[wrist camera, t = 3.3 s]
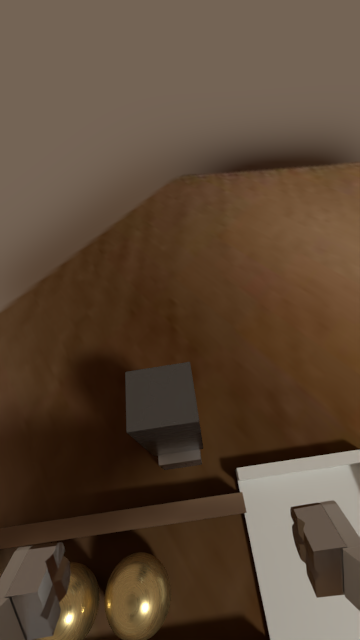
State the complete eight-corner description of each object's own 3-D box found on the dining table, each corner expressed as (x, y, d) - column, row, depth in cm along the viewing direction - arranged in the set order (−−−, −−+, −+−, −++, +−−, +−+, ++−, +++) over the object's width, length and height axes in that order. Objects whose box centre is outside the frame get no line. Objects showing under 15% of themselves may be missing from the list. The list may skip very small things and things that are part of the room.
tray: (465, 685, 16) (486, 701, 15) (284, 711, 16) (290, 729, 15) (362, 450, 23) (371, 447, 21) (235, 470, 23) (236, 468, 21)
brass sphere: (107, 634, 18) (84, 663, 15) (45, 643, 18) (7, 673, 15) (108, 553, 21) (87, 563, 17) (52, 562, 21) (21, 573, 17)
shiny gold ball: (177, 624, 18) (170, 650, 15) (115, 633, 18) (93, 661, 15) (171, 544, 20) (162, 552, 17) (115, 552, 21) (96, 562, 17)
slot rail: (276, 669, 17) (283, 687, 15) (-56, 717, 17) (-85, 739, 15) (240, 493, 22) (242, 491, 20) (-18, 531, 22) (-37, 533, 20)
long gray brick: (205, 463, 23) (201, 435, 14) (160, 470, 23) (126, 446, 14) (196, 407, 26) (188, 351, 16) (156, 413, 26) (124, 361, 16)
